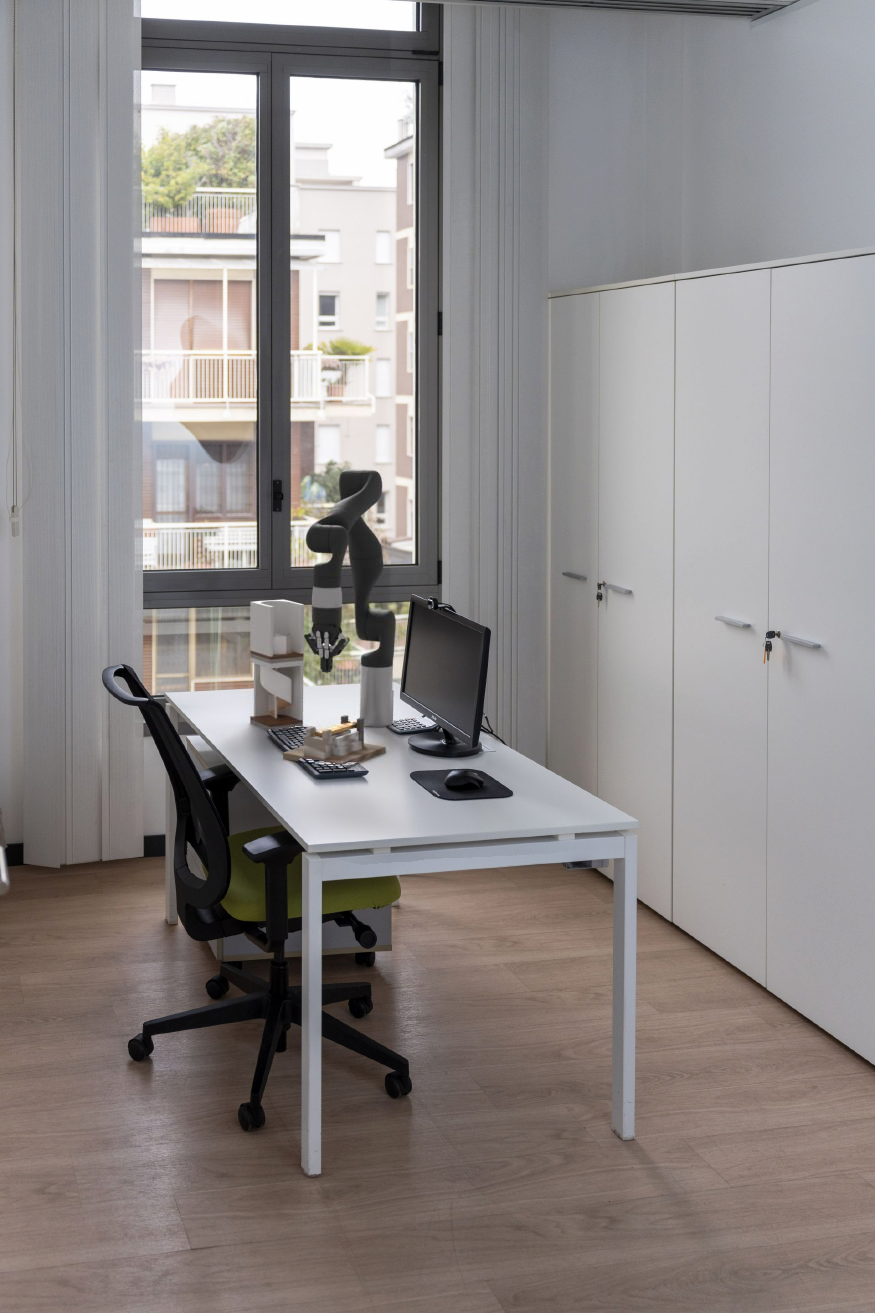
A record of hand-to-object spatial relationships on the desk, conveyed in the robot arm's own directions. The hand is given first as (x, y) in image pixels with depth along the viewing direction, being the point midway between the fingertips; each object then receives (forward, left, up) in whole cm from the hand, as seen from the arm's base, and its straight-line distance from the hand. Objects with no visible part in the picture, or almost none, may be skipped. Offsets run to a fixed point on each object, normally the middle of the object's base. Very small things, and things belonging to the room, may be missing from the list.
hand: (326, 672), depth 337 cm
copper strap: (-5, 0, -17) cm, 18 cm away
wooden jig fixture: (-4, 0, -23) cm, 23 cm away
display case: (-23, -33, -23) cm, 47 cm away
